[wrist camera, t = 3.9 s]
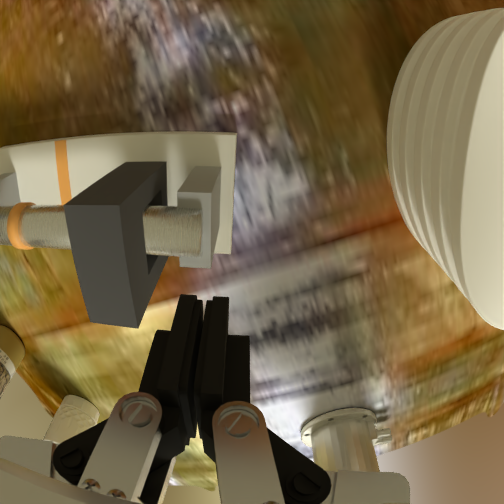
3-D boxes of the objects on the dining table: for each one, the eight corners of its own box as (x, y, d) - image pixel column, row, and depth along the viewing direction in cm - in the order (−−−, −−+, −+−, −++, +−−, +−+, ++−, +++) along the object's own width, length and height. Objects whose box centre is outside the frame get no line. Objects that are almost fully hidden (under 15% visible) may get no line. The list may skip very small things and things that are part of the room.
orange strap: (66, 139, 22) (4, 165, 14) (79, 245, 26) (36, 296, 19) (55, 141, 22) (-7, 166, 14) (69, 244, 26) (25, 294, 19)
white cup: (53, 392, 42) (33, 437, 33) (83, 391, 40) (63, 442, 32) (80, 418, 45) (65, 461, 36) (111, 418, 44) (97, 467, 35)
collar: (166, 161, 20) (119, 205, 13) (170, 252, 23) (138, 328, 16) (125, 161, 20) (63, 205, 13) (133, 250, 23) (90, 322, 16)
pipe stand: (237, 132, 23) (231, 150, 16) (231, 245, 28) (225, 300, 21) (3, 146, 23) (-51, 170, 16) (18, 235, 27) (-25, 273, 20)
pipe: (205, 200, 19) (198, 219, 17) (205, 243, 21) (199, 266, 18) (-25, 201, 19) (-46, 215, 16) (-17, 232, 20) (-37, 248, 17)
